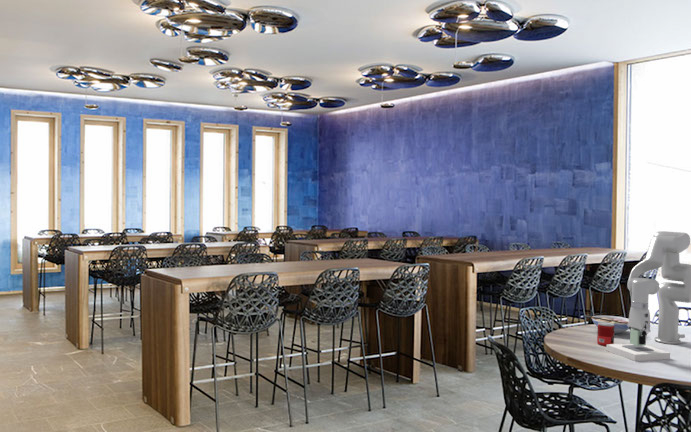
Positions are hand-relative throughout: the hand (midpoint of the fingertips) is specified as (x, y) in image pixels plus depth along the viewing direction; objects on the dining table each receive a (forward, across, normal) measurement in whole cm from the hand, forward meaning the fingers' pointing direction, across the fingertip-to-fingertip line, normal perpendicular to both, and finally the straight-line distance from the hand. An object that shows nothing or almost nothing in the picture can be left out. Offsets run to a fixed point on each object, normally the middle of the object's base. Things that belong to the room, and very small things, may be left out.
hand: (637, 342), depth 307 cm
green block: (+1, 0, 0) cm, 1 cm away
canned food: (+6, +21, +2) cm, 22 cm away
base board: (+6, 0, 0) cm, 6 cm away
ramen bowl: (+6, +46, -22) cm, 51 cm away
